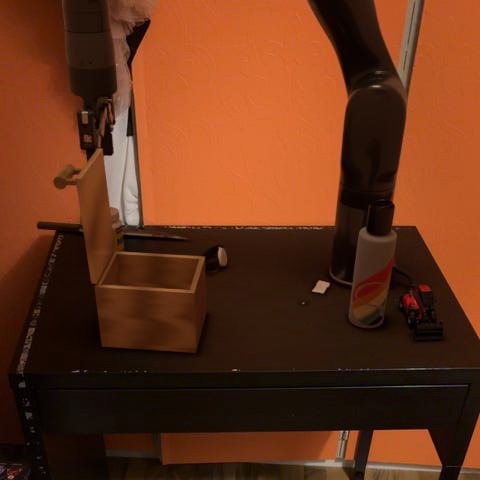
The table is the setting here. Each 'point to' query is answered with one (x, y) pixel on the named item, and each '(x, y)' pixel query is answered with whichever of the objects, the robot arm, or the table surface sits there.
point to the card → (320, 287)
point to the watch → (219, 261)
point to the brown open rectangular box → (152, 301)
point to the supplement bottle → (117, 230)
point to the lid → (92, 210)
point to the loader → (421, 313)
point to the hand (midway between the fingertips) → (101, 163)
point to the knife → (79, 228)
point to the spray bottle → (373, 266)
